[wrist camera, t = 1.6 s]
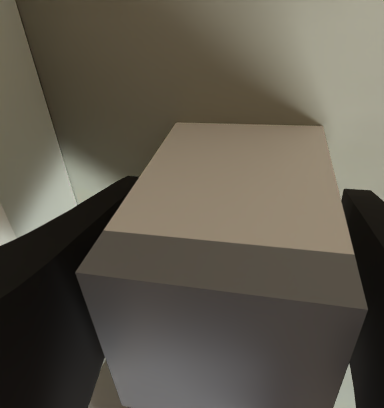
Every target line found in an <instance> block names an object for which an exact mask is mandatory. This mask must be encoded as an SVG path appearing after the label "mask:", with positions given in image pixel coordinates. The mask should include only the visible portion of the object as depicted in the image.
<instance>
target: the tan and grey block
mask: <svg viewBox="0 0 384 408" xmlns="http://www.w3.org/2000/svg"><path fill="white" fill-rule="evenodd" d="M75 274H76V276H77V279H78V282H79V285H80V288H81V291H82V293H83V296H84V299H85V302H86V305H87V308H88V310H89V313H90V316H91V319H92V322H93V325H94V327H95V330H96V333H97V336H98V339H99V342H100V344H101V347H102V350H103V353H104V356H105V359H106V361H107V364H108V367H109V370H110V373H111V376H112V378H113V381H114V384H115V387H116V390H117V393H118V395H119V398H120V401H121V404H122V406H126V407H131V408H333V407H334V404H335V401H336V398H337V395H338V393H339V390H340V387H341V384H342V381H343V379H344V376H345V373H346V370H347V367H348V365H349V362H350V359H351V356H352V353H353V351H354V348H355V345H356V342H357V339H358V336H359V334H360V331H361V328H362V325H363V322H364V320H365V317H366V314H367V311H368V307H367V303H366V299H365V295H364V291H363V287H362V283H361V279H360V275H359V271H358V267H357V263H356V259H355V255H354V251H353V246H352V242H351V238H350V234H349V230H348V226H347V222H346V218H345V214H344V210H343V206H342V202H341V198H340V194H339V190H338V186H337V182H336V177H335V173H334V169H333V165H332V161H331V157H330V153H329V149H328V145H327V141H326V137H325V133H324V129H323V126H304V125H262V124H220V123H177V122H176V123H175V125H174V126H173V128H172V129H171V131H170V132H169V134H168V135H167V137H166V138H165V140H164V141H163V143H162V144H161V146H160V147H159V149H158V150H157V152H156V153H155V155H154V156H153V158H152V159H151V161H150V162H149V163H148V165H147V166H146V168H145V169H144V171H143V172H142V174H141V175H140V177H139V178H138V180H137V181H136V183H135V184H134V186H133V187H132V189H131V190H130V192H129V193H128V195H127V196H126V198H125V199H124V201H123V202H122V204H121V205H120V207H119V208H118V210H117V211H116V213H115V214H114V216H113V217H112V218H111V220H110V221H109V223H108V224H107V226H106V227H105V229H104V230H103V232H102V233H101V235H100V236H99V238H98V239H97V241H96V242H95V244H94V245H93V247H92V248H91V250H90V251H89V253H88V254H87V256H86V257H85V259H84V260H83V262H82V263H81V265H80V266H79V268H78V269H77V270H76V272H75Z"/></svg>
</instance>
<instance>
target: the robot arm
mask: <svg viewBox="0 0 384 408" xmlns="http://www.w3.org/2000/svg"><path fill="white" fill-rule="evenodd" d="M138 178H139V177H135V176H127V177H125V178H123V179H121V180H119V181H117V182H115V183H114V184H112V185H110V186H108V187H107V188H105V189H103V190H102V191H100V192H99V193H97V194H95V195H94V196H92V197H90V198H89V199H87V200H85V201H84V202H82V203H80V204H79V205H77V206H75V207H74V208H72V209H70V210H69V211H67V212H65V213H63V214H62V215H60V216H58V217H56V218H54V219H53V220H51V221H49V222H47V223H45V224H44V225H42V226H40V227H38V228H36V229H34V230H33V231H31V232H29V233H27V234H25V235H23V236H21V237H18V238H16V239H14V240H12V241H10V242H8V243H6V244H3V245H1V246H0V408H88V406H89V403H90V400H91V397H92V394H93V391H94V387H95V384H96V381H97V379H98V376H99V373H100V370H101V367H102V365H103V362H104V359H105V356H104V353H103V350H102V347H101V344H100V342H99V339H98V336H97V333H96V330H95V327H94V325H93V322H92V319H91V316H90V313H89V310H88V308H87V305H86V302H85V299H84V296H83V293H82V291H81V288H80V285H79V282H78V279H77V276H76V274H75V272H76V270H77V269H78V268H79V266H80V265H81V263H82V262H83V260H84V259H85V257H86V256H87V254H88V253H89V251H90V250H91V248H92V247H93V245H94V244H95V242H96V241H97V239H98V238H99V236H100V235H101V233H102V232H103V230H104V229H105V227H106V226H107V224H108V223H109V221H110V220H111V218H112V217H113V216H114V214H115V213H116V211H117V210H118V208H119V207H120V205H121V204H122V202H123V201H124V199H125V198H126V196H127V195H128V193H129V192H130V190H131V189H132V187H133V186H134V184H135V183H136V181H137V180H138ZM341 202H342V206H343V210H344V214H345V218H346V222H347V226H348V230H349V234H350V238H351V242H352V246H353V251H354V255H355V259H356V263H357V267H358V271H359V275H360V279H361V283H362V287H363V291H364V295H365V299H366V303H367V307H368V311H367V314H366V317H365V320H364V322H363V325H362V328H361V331H360V334H359V336H358V339H357V342H356V345H355V348H354V351H353V353H352V356H351V359H350V362H349V363H350V368H351V374H352V380H353V386H354V394H355V403H356V408H384V201H382V200H381V199H380V198H379V197H378V196H377V195H376V194H374V193H373V192H372V191H371V190H355V189H344V191H343V196H342V200H341Z"/></svg>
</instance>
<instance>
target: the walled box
mask: <svg viewBox="0 0 384 408" xmlns="http://www.w3.org/2000/svg"><path fill="white" fill-rule="evenodd" d="M75 206H77V203H76V200H75V197H74V194H73V190H72V187H71V184H70V180H69V177H68V174H67V170H66V167H65V164H64V160H63V157H62V154H61V151H60V147H59V144H58V141H57V137H56V134H55V131H54V127H53V124H52V121H51V117H50V114H49V111H48V108H47V104H46V101H45V98H44V94H43V91H42V88H41V84H40V81H39V78H38V74H37V71H36V68H35V65H34V61H33V58H32V55H31V51H30V48H29V45H28V41H27V38H26V35H25V31H24V28H23V25H22V22H21V18H20V15H19V12H18V8H17V5H16V2H15V0H0V246H1V245H3V244H6V243H8V242H10V241H12V240H14V239H16V238H18V237H21V236H23V235H25V234H27V233H29V232H31V231H33V230H34V229H36V228H38V227H40V226H42V225H44V224H45V223H47V222H49V221H51V220H53V219H54V218H56V217H58V216H60V215H62V214H63V213H65V212H67V211H69V210H70V209H72V208H74V207H75ZM104 362H105V359H104ZM104 362H103V364H104ZM102 366H103V365H102ZM101 368H102V367H101Z"/></svg>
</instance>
